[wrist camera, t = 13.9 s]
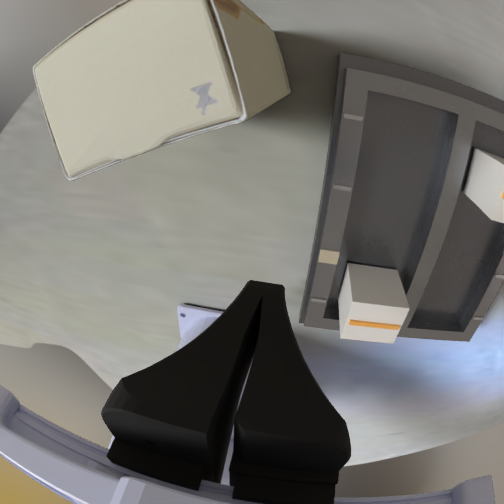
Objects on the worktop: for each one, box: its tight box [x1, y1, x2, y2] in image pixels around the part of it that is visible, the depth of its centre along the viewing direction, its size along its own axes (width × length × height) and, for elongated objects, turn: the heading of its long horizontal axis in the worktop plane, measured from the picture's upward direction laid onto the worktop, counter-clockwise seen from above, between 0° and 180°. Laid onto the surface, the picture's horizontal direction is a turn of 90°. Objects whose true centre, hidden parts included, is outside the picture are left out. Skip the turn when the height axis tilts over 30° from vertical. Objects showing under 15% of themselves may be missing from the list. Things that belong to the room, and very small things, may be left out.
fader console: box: [299, 53, 504, 341], centre depth 18 cm, size 19×15×2 cm
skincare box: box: [33, 0, 291, 181], centre depth 12 cm, size 6×4×12 cm
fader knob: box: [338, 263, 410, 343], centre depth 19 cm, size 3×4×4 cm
